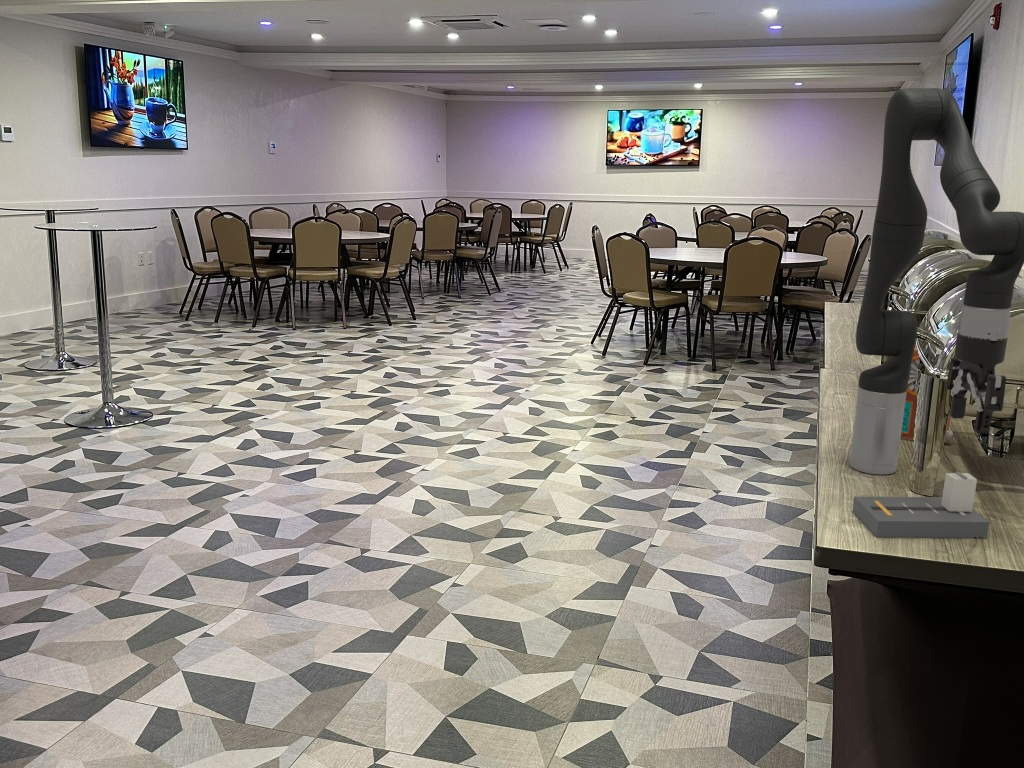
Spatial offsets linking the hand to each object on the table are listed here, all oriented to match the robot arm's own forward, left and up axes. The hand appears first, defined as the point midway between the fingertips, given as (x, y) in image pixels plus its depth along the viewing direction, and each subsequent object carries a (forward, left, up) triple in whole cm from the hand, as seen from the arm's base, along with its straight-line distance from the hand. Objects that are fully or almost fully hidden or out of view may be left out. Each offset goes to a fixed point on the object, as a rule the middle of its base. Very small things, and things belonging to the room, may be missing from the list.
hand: (968, 425), depth 152 cm
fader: (0, 0, -15) cm, 15 cm away
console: (0, -6, -19) cm, 20 cm away
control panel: (-49, +15, -19) cm, 55 cm away
